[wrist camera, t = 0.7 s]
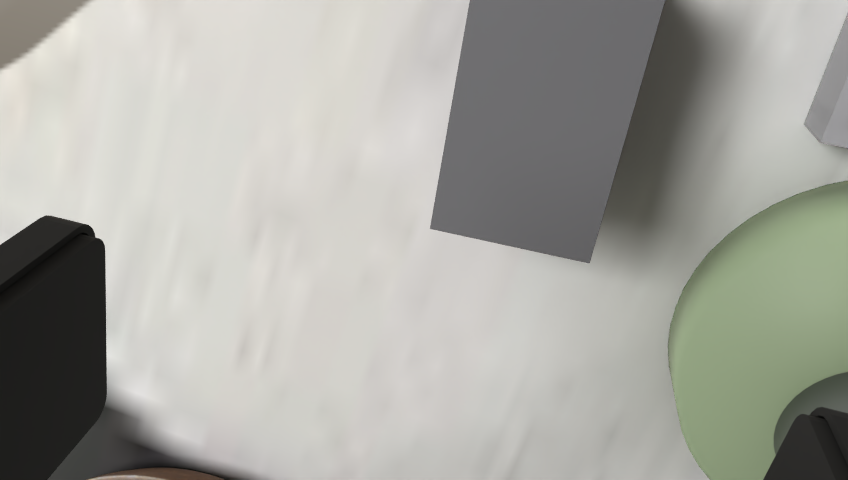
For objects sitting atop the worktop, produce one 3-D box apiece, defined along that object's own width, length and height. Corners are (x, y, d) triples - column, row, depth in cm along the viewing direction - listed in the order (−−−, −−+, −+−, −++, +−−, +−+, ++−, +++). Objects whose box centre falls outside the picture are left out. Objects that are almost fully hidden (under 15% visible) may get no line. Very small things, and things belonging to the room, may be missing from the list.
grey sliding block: (681, -96, 24) (710, -84, 19) (599, 192, 29) (605, 266, 24) (493, -128, 25) (471, -125, 20) (443, 160, 29) (414, 225, 24)
